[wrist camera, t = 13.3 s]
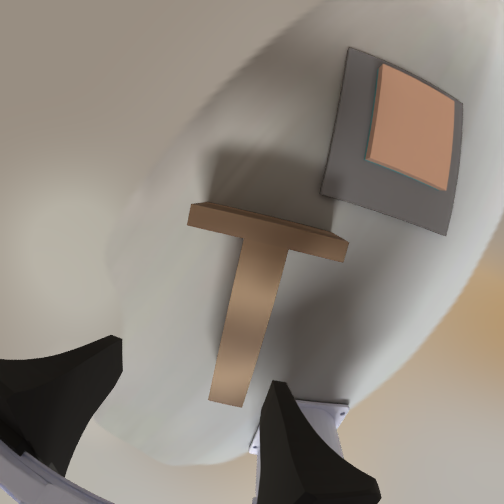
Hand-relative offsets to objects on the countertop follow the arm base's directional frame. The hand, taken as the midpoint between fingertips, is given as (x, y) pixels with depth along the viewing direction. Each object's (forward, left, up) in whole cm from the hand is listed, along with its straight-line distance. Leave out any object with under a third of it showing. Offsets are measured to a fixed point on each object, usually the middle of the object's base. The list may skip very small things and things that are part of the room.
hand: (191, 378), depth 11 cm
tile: (+13, -11, -8) cm, 19 cm away
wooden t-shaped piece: (0, -2, -10) cm, 10 cm away
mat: (+16, -11, -9) cm, 21 cm away
